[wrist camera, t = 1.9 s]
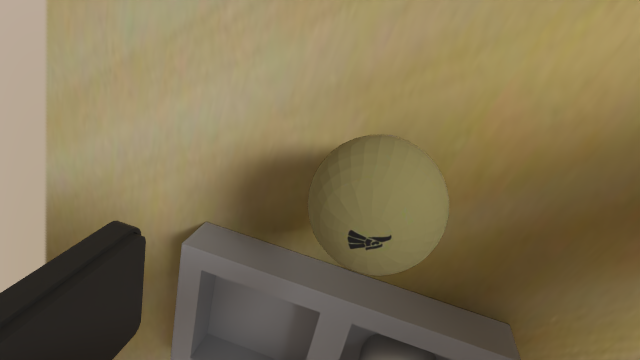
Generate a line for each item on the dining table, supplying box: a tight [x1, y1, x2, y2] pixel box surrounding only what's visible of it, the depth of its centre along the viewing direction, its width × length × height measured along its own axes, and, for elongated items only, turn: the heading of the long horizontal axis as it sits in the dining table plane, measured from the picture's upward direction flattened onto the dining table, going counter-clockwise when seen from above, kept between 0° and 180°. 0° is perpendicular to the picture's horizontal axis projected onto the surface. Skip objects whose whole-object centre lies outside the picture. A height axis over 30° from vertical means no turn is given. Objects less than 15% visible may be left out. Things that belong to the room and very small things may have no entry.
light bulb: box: [308, 135, 449, 276], centre depth 17 cm, size 6×6×10 cm
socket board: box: [171, 222, 521, 360], centre depth 26 cm, size 21×11×3 cm, turn 76°
